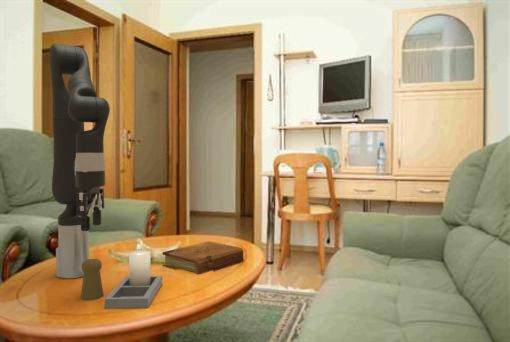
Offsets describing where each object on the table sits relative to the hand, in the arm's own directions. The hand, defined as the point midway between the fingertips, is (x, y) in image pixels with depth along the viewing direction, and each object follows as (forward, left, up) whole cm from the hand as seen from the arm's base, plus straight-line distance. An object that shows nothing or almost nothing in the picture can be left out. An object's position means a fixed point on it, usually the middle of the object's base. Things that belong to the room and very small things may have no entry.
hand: (91, 227), depth 109 cm
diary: (+28, +34, -21) cm, 49 cm away
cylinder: (+12, +5, -19) cm, 23 cm away
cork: (0, 0, -20) cm, 20 cm away
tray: (+12, 0, -20) cm, 23 cm away
